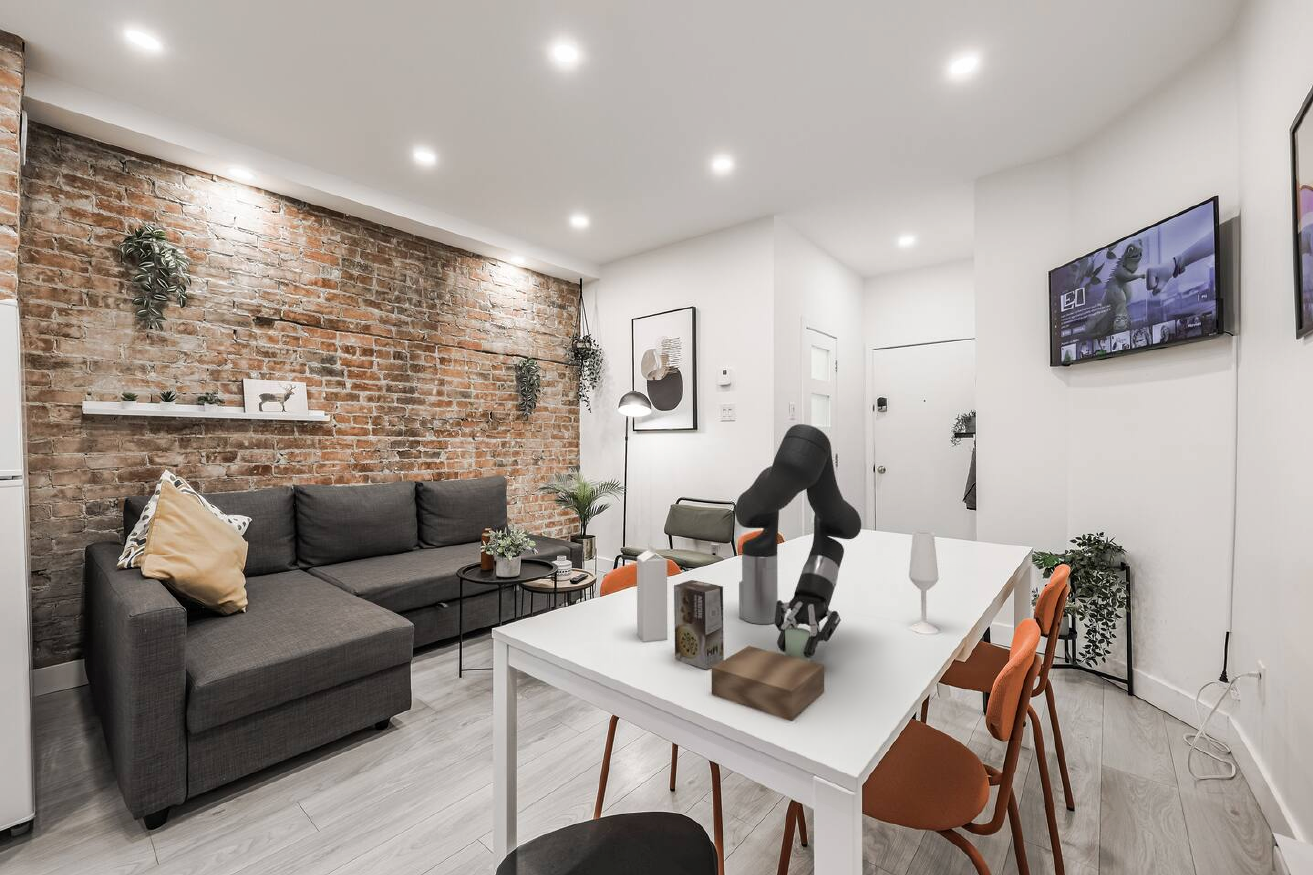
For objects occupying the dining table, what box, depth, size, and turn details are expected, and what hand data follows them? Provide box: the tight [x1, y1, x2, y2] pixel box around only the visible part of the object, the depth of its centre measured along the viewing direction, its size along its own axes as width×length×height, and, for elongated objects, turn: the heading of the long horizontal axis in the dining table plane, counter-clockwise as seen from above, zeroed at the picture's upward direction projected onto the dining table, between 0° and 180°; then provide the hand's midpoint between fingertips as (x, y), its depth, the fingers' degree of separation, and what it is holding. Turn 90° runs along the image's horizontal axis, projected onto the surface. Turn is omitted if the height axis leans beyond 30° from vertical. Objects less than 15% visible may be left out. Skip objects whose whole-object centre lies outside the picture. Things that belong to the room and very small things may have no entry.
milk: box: [636, 543, 668, 643], centre depth 135 cm, size 6×6×22 cm
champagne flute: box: [908, 530, 940, 635], centre depth 140 cm, size 7×7×24 cm
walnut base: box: [711, 645, 825, 722], centre depth 104 cm, size 16×14×5 cm
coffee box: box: [673, 579, 725, 670], centre depth 120 cm, size 9×6×16 cm
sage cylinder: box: [784, 627, 812, 662], centre depth 115 cm, size 5×5×8 cm
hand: (794, 652), depth 113 cm, fingers closed on sage cylinder, 5 cm apart
